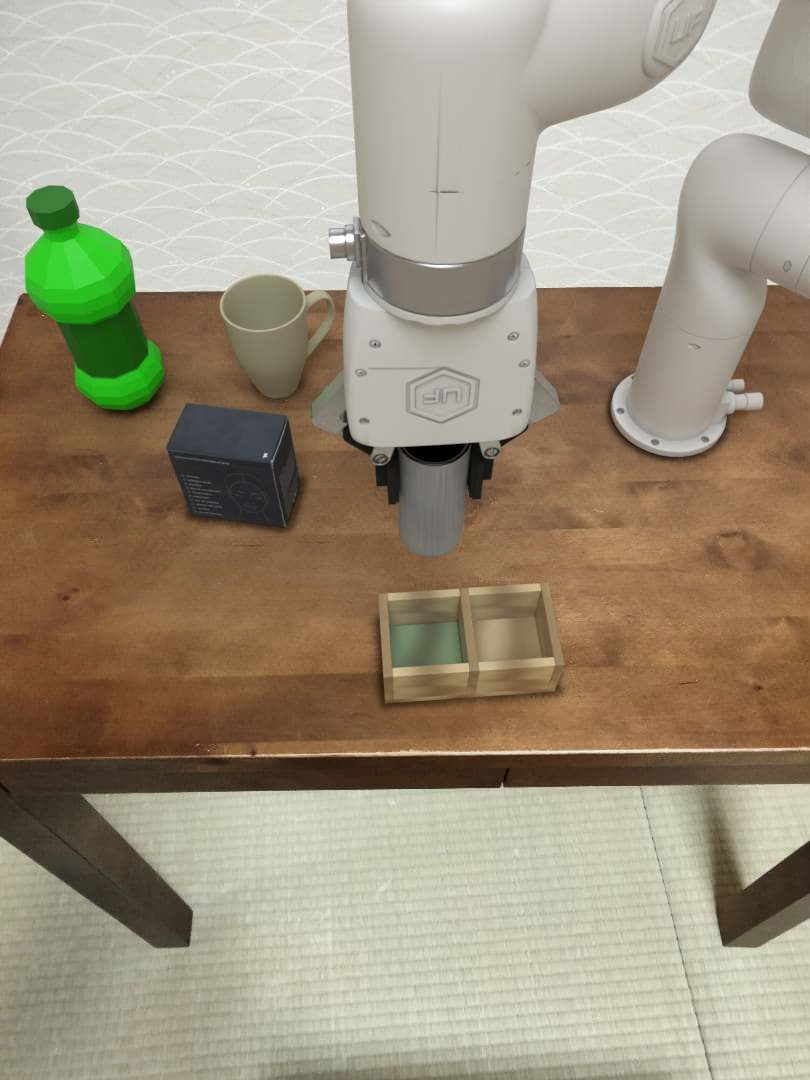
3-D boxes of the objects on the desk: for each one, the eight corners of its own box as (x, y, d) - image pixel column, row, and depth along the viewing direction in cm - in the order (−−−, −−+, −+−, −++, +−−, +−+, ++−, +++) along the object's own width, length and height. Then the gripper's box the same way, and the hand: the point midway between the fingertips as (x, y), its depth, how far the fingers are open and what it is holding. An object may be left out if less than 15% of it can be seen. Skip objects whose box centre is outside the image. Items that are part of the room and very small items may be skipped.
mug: (305, 422, 92) (292, 342, 82) (226, 400, 94) (204, 319, 84) (342, 357, 97) (334, 275, 87) (267, 338, 99) (251, 254, 89)
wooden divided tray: (540, 613, 78) (548, 582, 73) (554, 691, 74) (565, 664, 69) (380, 623, 78) (378, 593, 73) (384, 703, 73) (383, 677, 68)
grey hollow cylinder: (471, 549, 57) (482, 455, 48) (409, 565, 56) (409, 473, 48) (450, 499, 59) (457, 401, 51) (391, 513, 59) (387, 417, 50)
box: (302, 479, 87) (290, 413, 78) (287, 529, 84) (272, 466, 75) (206, 466, 88) (184, 400, 80) (187, 515, 85) (162, 451, 76)
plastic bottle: (190, 374, 96) (128, 178, 75) (142, 438, 90) (62, 246, 70) (116, 352, 98) (37, 156, 77) (66, 413, 93) (-34, 220, 72)
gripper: (256, 311, 36) (302, 540, 51) (639, 291, 36) (571, 523, 51) (261, 207, 40) (302, 448, 55) (604, 190, 40) (551, 433, 56)
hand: (432, 482), depth 53 cm, fingers closed on grey hollow cylinder, 4 cm apart
